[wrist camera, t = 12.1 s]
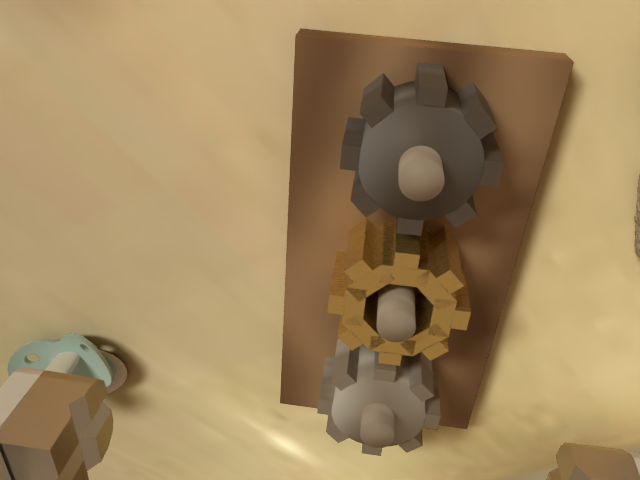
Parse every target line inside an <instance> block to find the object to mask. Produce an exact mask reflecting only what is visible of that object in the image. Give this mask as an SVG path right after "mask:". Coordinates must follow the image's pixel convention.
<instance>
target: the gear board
mask: <svg viewBox="0 0 640 480" xmlns="http://www.w3.org/2000/svg"><path fill="white" fill-rule="evenodd" d="M573 63H574V62H573V61H572V60H571V59H570V58H569V57H568V56H567V55H566V54H564V53H554V52H543V51H532V50H522V49H511V48H500V47H490V46H479V45H469V44H458V43H447V42H437V41H426V40H415V39H405V38H394V37H384V36H373V35H362V34H352V33H341V32H330V31H320V30H309V29H300V30H299V32H298V33H297V34H296V38H295V62H294V86H293V110H292V134H291V158H290V181H289V205H288V229H287V253H286V277H285V301H284V325H283V349H282V372H281V396H280V403H283V404H290V405H297V406H305V407H312V408H318V413H320V414H327V415H328V422H327V429H326V432H327V433H328V434H329V435H330V436H331V437H332V438H333V439H335V440H336V441H337V442H338V443H339V442H341V441H343V440H345V439H347V438H351V439H353V440H355V441H357V442H359V443H362V444H363V445H362V453H364V454H371V455H378V456H381V452H382V448H383V447H386V446H394V445H399V446H400V447H401V448H402V449H403V450H404V451H406V452H409V451H411V450H414V449H416V448H418V447H420V446H422V428H427V429H434V430H437V429H438V425H441V426H449V427H456V428H463V429H467V427H468V424H469V420H470V417H471V413H472V410H473V407H474V403H475V400H476V396H477V393H478V389H479V386H480V383H481V379H482V376H483V372H484V369H485V365H486V362H487V358H488V355H489V352H490V348H491V345H492V341H493V338H494V334H495V331H496V327H497V324H498V321H499V317H500V314H501V310H502V307H503V303H504V300H505V297H506V293H507V290H508V286H509V283H510V279H511V276H512V272H513V269H514V266H515V262H516V259H517V255H518V252H519V248H520V245H521V242H522V238H523V235H524V231H525V228H526V224H527V221H528V217H529V214H530V211H531V207H532V204H533V200H534V197H535V193H536V190H537V187H538V183H539V180H540V176H541V173H542V169H543V166H544V162H545V159H546V156H547V152H548V149H549V145H550V142H551V138H552V135H553V132H554V128H555V125H556V121H557V118H558V114H559V111H560V107H561V104H562V101H563V97H564V94H565V90H566V87H567V83H568V80H569V77H570V73H571V70H572V66H573ZM395 216H396V217H397V225H396V233H401V234H409V235H418V236H421V233H422V227H427V229H428V230H429V231H430V232H431V233H432V234H433V233H434V232H436V231H438V230H439V229H441V228H442V227H444V226H445V228H446V229H447V230H448V231H449V232H450V233H451V235H452V236H453V237H454V238H455V239H456V240H457V245H458V251H459V257H460V263H461V265H463V267H464V273H465V279H466V285H467V291H468V297H469V303H470V309H471V314H470V318H469V322H468V326H467V330H460V329H452V328H451V329H450V333H449V337H447V340H448V350H449V351H448V352H446V353H444V354H442V355H441V356H439V357H437V358H435V359H433V360H431V361H430V360H429V359H428V358H427V357H426V356H425V355H424V354H423V353H422V352H420V353H418V354H416V355H414V356H407V355H402V358H401V363H400V366H397V365H389V364H381V363H378V360H379V352H376V351H369V350H368V349H367V348H366V347H365V346H364V345H363V344H362V345H361V346H359V347H357V348H355V349H354V350H352V351H351V350H350V349H349V348H348V347H347V346H346V345H345V344H344V343H343V342H342V341H341V340H340V339H339V338H338V337H337V336H338V329H339V322H340V315H339V314H331V313H328V301H329V292H330V287H331V281H332V276H333V270H334V264H335V259H336V253H337V251H345V252H347V248H348V241H349V235H350V229H351V228H352V227H354V226H355V225H357V224H358V223H360V222H361V221H362V220H364V219H365V218H368V219H369V221H370V222H371V223H372V224H373V225H374V226H375V227H378V226H379V225H380V224H382V223H383V222H387V223H394V221H395ZM415 330H416V322H415V292H414V287H411V286H402V285H394V284H387V285H385V286H384V287H382V288H380V289H379V292H378V309H377V331H378V333H379V335H380V336H381V337H382V338H384V339H385V340H387V341H390V342H403V341H406V340H408V339H410V338H411V337H412V336H413V334H414V333H415Z"/></svg>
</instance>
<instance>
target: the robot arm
mask: <svg viewBox="0 0 640 480" xmlns="http://www.w3.org/2000/svg"><path fill="white" fill-rule="evenodd" d="M106 395H107V389H106V386H105V382H104V380H100V379H95V378H89V377H83V376H77V375H71V374H65V373H59V372H53V371H46V370H40V369H33V368H27V367H21V368H20V369H18V370H16V371H14V372H13V373H12V374H11V375H10V377H9V378H8V379H7V380H6V382H5V383H4V384H3V385H2V387H1V388H0V480H89V478H88V473H87V471H88V470H89V469H91V468H92V467H94V466H95V465H97V464H98V463H100V462H101V461H102V459H103V457H104V455H105V453H106V451H107V449H108V447H109V443H110V439H111V436H112V432H113V416H112V411H111V409H110V408H109V407H108V406H107V405H106V404H105V403H104V402H103V400H104V399H105V397H106ZM556 459H557V463H558V468H556V469H555V470H553V471H551V472H549V474H548V477H547V479H546V480H640V453H639V452H632V451H624V450H621V449H613V448H605V447H597V446H589V445H581V444H573V443H564V444H563V445H561V446H560V448H559V450H558V452H557V455H556Z"/></svg>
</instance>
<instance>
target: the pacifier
mask: <svg viewBox="0 0 640 480" xmlns="http://www.w3.org/2000/svg"><path fill="white" fill-rule="evenodd" d="M30 354H35V355H38V356H39V358H40V360H38V361H30V360H28V359H27V355H30ZM21 367H27V368H33V369H40V370H46V371H53V372H59V373H65V374H71V375H77V376H83V377H89V378H95V379H100V380H104V382H105V386H106V389H107V394H109V393H111V392H113V391H115V390H117V389H118V388H119V387H120V386H122V385H123V384H124V382H125V380H126V379H127V369H126V367H125V364H124V363H123V362H122V361H121V360H120V359H119V358H117V357H116V356H114V355H113V354H110V353H108V352H105V351H102V350H100V349H99V348H98V346H97V345H95V344H94V343H92V342H90V341H89V340H87V339H86V338H84V337H83V336H81V335H78V334H72V333H70V334H67V335H65V336H64V337H63V338H61V339H60V340H59V341H54V340H36V341H32V342H29V343H27V344H25V345H24V346H22V347H21V348H19V349H18V350H17V351H16V352H15V353H14V354H13V356H12V357H11V359H10V361H9V364H8V374H9V377H10V375H11V374H12V373H13V372H14V371H16V370H18V369H20V368H21ZM112 373H113V374H112Z"/></svg>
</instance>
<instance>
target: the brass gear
mask: <svg viewBox="0 0 640 480" xmlns="http://www.w3.org/2000/svg"><path fill="white" fill-rule="evenodd" d="M396 225H397V217H396V216H395V221H394V223H387V222H383V223H382V224H380V225H379V226H378V227H375V226H374V225H373V224H372V223H371V222H370V221H369V219H368V218H365V219H364V220H362V221H361V222H360V223H358V224H357V225H355V226H354V227H352V228H351V229H350V235H349V241H348V248H347V252H345V251H337V253H336V259H335V264H334V270H333V276H332V281H331V287H330V292H329V301H328V313H331V314H339V315H340V322H339V329H338V336H337V337H338V338H339V339H340V340H341V341H342V342H343V343H344V344H345V345H346V346H347V347H348V348H349V349H350V350H351V351H352V350H354V349H355V348H357V347H359V346H361V345H362V344H363V345H364V346H365V347H366V348H367V349H368V350H369V351H376V352H379V360H378V363H381V364H389V365H397V366H400V363H401V358H402V355H407V356H414V355H416V354H418V353H420V352H422V353H423V354H424V355H425V356H426V357H427V358H428V359H429V360H430V361H431V360H433V359H435V358H437V357H439V356H441V355H442V354H444V353H446V352H448V351H449V350H448V340H447V337H449V333H450V329H451V328H452V329H460V330H467V326H468V322H469V318H470V314H471V309H470V303H469V297H468V291H467V285H466V279H465V273H464V267H463V265H461V263H460V257H459V251H458V245H457V240H456V239H455V238H454V237H453V236H452V235H451V233H450V232H449V231H448V230H447V229H446V228H445V226H444V227H442V228H441V229H439V230H438V231H436V232H434V233H433V234H432V233H431V232H430V231H429V230H428V229H427V227H422V233H421V236H418V235H409V234H401V233H396ZM387 284H394V285H402V286H411V287H414V292H415V322H416V330H415V333H414V334H413V336H412V337H411V338H410V339H408V340H406V341H403V342H390V341H387V340H385V339H384V338H382V337H381V336H380V335H379V333H378V331H377V309H378V292H379V289H380V288H382V287H384V286H385V285H387Z"/></svg>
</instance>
